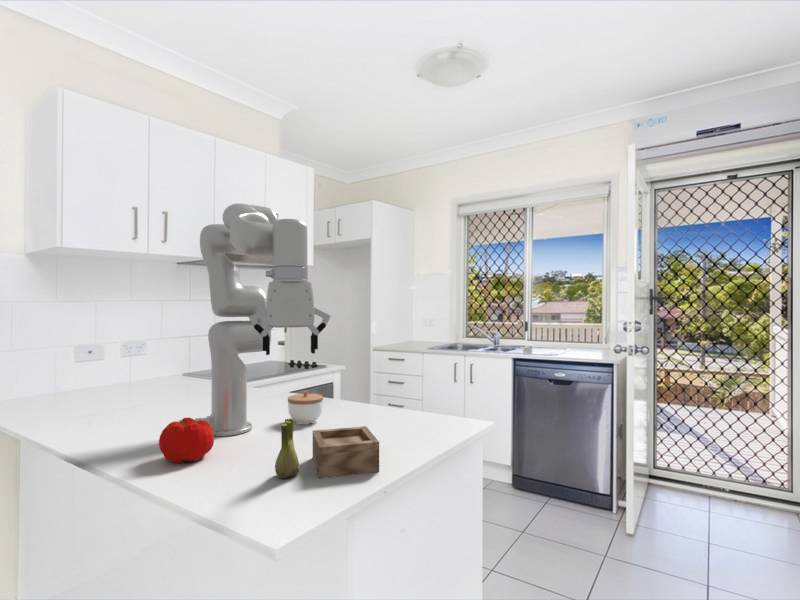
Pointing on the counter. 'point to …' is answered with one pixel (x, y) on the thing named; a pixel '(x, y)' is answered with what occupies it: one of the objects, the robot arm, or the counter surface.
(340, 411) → the counter surface
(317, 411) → the lidded jar
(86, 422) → the counter surface
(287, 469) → the fennel bulb
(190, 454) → the tomato
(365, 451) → the open walnut box
